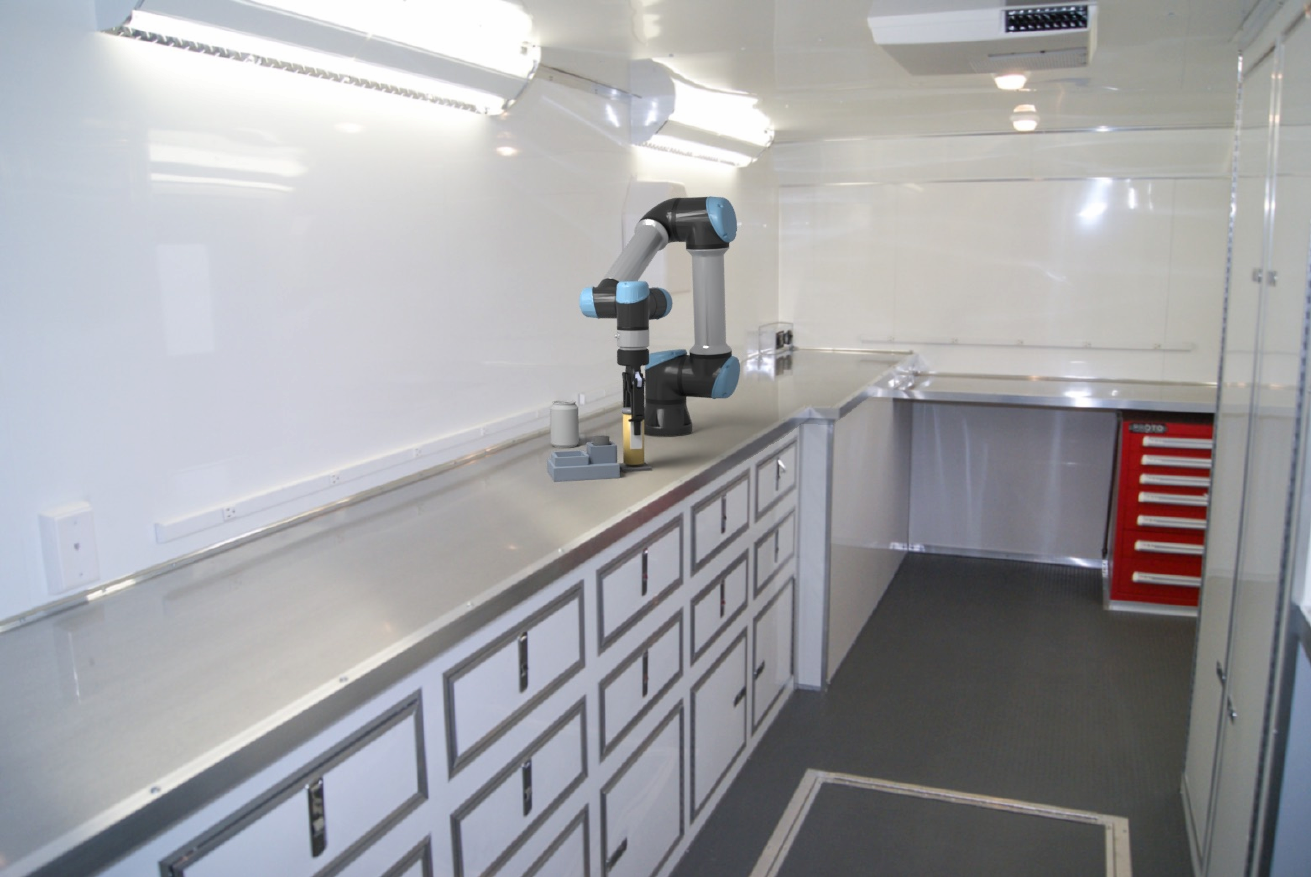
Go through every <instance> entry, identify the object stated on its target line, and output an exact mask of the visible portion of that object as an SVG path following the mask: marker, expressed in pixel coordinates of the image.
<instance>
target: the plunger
mask: <svg viewBox="0 0 1311 877" xmlns="http://www.w3.org/2000/svg"><path fill="white" fill-rule="evenodd" d="M609 441H610V436H609V435H595V436H593V442H594V446H605V445H609Z"/></svg>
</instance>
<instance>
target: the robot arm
mask: <svg viewBox="0 0 1311 877" xmlns="http://www.w3.org/2000/svg"><path fill="white" fill-rule="evenodd" d="M737 232H738V220H737V215H736V212H735V208H734V206H733V205H732V203H731V201H730V200H729V199H727V198H725V197H723V196H722V197H721V196H698V197H697V196H694V197H673V198H672V197H671V198H668V199H666V200H664V201H662V202H660V203H658V204H656V205H655V206H654V207H652V208H651V209H650V210H648V211H647V212H646V213H645V214H644V215H643V216H642V217H641V218H640V219H639V221H638V222H637V223H636V225H635V227H634V232H633V233H634V234H633V236H632V237H631V238H630V240H629V241H628V243H627V244H626V245H625V247H624V248H623V249H622V251H621V252H620V254H619V255H618V257H617V258H616V260H615V261H614V263H613V264H612V265H611V267H610V268H609V270H608V271H607V272H606V274H605V275H604V276H603V278H602V279H601V281H600V282H599V284H598V285H597V286H596V287H595V286H593V285H592V286H588V287H585V288H583V289H582V291H581V293H580V295H579V301H578V302H579V308H580V312H581V314H582V315H583V316H584V317H586V318H593V319H598V320H599V319H611V320H612V319H614V320H616V333H615V334H614V338H615V339H616V347H619V348H618V349H617V350H616V364H617V365H618V366H621V367H625V371H622V373H621V378H622V408H624V407H631V419H628V421H629V422H630V449H642V421H643V420H644V436H645V435H646V436H652V437H653V436H655V437H676V436H678V437H680V436H685V435H690V434H692V433H693V431H694V430H693V429H694V428H693V427H694V426H693V422H692V419H691V416H690V412H689V410H688V405H687V397H688V398H705V399H712V400H716V399H728V398H730V397H731V396H732V395H733V394H734V393H735V390H736V388H737V386H738V384H739V379H740V374H741V364H740V359H739V358H738V357H737V356H734V355H733V350H732V347H730V346H729V345H728V343H727V331H726V330H727V328H726V327H727V326H726V324H727V323H726V322H727V321H726V289H725V288H726V286H725V282H726V281H725V254H726V253H727V252H728V251H729V249H730V243H732V242H734V241H735V239H736V237H737ZM678 242H679V243H685V250H686V251H687V253H689V255H690V257H691V265H692V266H691V269H692V271H691V273H692V299H693V300H692V305H693V328H694V330H693V331H694V332H693V333H694V344H693V346H692V347H690V349H689V350H688V352H689V354H688V352H687V350H686V349H684V348H682V349H681V348H680V349H679V348H678V349H670V350H662V351H656V352H650V349H648V347H649V346H650V320H651V321H653V320H656V321H657V320H660V319H664V318H665V317H667V316H668V315H670V313H671V311H672V309H673V304H674V303H673V298H672V295H671V294H670V292H668V290H667V289H665V288H662V287H658V286H657V287H653V286H652V287H649V286H650V285H649V283H648V282H647V281H645V280H640V278H641V277H642V276H643V274H644V272H645V271H646V269H647V268H648V266H649V265H650V264H651V262H652V261H653V259H654V258H655V257H656V254H657V253H658V252H660V251H662V250H664V249H665V248H666V246H667V245H668V244H671V243H678ZM643 366H644V373H642V367H643ZM644 408H645V413H644Z"/></svg>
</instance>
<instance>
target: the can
mask: <svg viewBox="0 0 1311 877" xmlns="http://www.w3.org/2000/svg"><path fill="white" fill-rule="evenodd" d="M576 403H577V402H576V401H575V400H569V399H560V400H554V401H552V404H551V405H550V407H549V426H550V430H549V431H550V444H551V445H552V446H553V447H554V448H558V449H570V448H575V447H577V445H579V444H580V440H579V439H580V438H579V437H580V436H579V434H580V432H579V431H580V430H579V429H580V428H579V424H580V422H579V406H578V405H577V404H576Z"/></svg>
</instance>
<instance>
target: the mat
mask: <svg viewBox="0 0 1311 877" xmlns="http://www.w3.org/2000/svg"><path fill="white" fill-rule="evenodd" d="M617 463H618V462H617ZM618 464H619V467H620V471H621V473H623V472H624V473H625V472H626V473H628V472H630V473H631V472H643V471H652V470H653V467H651V465H649V464H648V463H647V462H646V461H644V463H643V464H638V465H629V464H624V463H623V462H622V463H621V462H619V463H618Z"/></svg>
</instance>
